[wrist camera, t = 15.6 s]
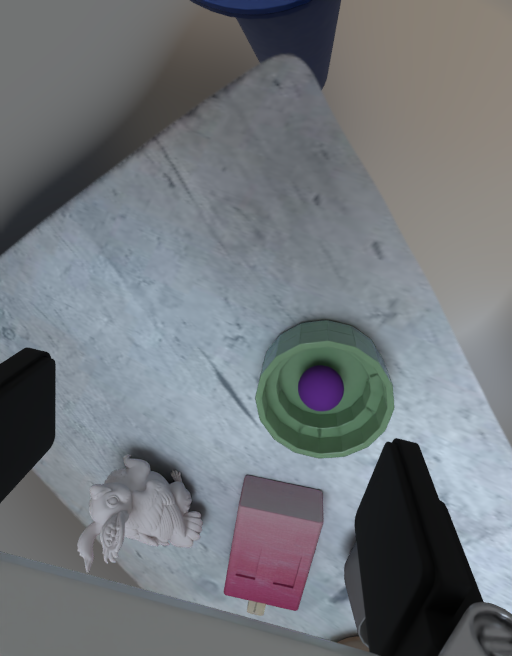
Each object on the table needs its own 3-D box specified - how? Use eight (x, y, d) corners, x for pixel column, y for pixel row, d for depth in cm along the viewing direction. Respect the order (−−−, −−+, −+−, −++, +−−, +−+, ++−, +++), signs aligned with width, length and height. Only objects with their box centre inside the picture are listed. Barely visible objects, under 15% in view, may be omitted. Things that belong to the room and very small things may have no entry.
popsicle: (218, 622, 51) (238, 505, 43) (225, 585, 56) (245, 474, 48) (290, 638, 51) (323, 524, 43) (291, 600, 55) (322, 490, 47)
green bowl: (277, 305, 39) (272, 327, 34) (400, 335, 39) (413, 360, 34) (252, 408, 44) (245, 440, 39) (362, 435, 44) (369, 471, 39)
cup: (401, 582, 51) (421, 674, 42) (331, 560, 51) (335, 646, 42) (435, 531, 48) (464, 620, 38) (358, 507, 48) (369, 590, 38)
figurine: (143, 425, 47) (88, 512, 35) (223, 511, 51) (196, 615, 39) (97, 454, 50) (31, 544, 38) (176, 534, 53) (137, 638, 42)
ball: (306, 352, 40) (301, 373, 36) (349, 364, 40) (350, 386, 36) (295, 389, 42) (290, 412, 38) (337, 401, 42) (336, 426, 38)
